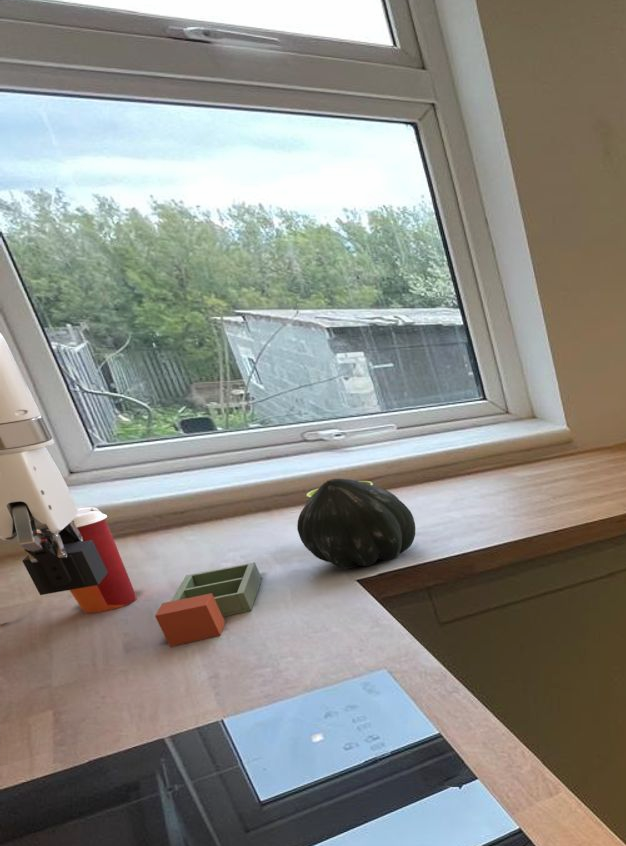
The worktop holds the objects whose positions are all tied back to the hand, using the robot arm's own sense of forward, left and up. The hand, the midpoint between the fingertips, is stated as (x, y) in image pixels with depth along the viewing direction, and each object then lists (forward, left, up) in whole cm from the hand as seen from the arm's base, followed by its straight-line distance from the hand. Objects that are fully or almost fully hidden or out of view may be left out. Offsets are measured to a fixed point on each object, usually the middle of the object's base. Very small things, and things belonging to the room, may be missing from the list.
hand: (73, 580), depth 100 cm
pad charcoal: (0, 0, 0) cm, 0 cm away
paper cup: (-4, +23, -10) cm, 25 cm away
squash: (+27, +19, -10) cm, 35 cm away
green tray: (+9, +13, -10) cm, 19 cm away
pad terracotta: (+8, 0, -10) cm, 13 cm away
